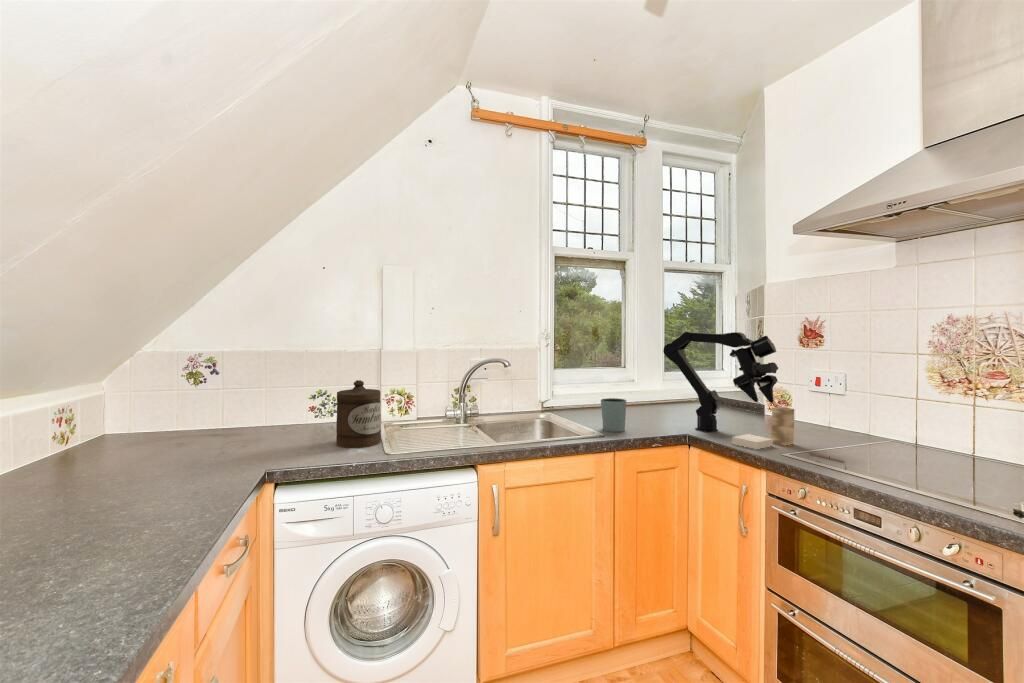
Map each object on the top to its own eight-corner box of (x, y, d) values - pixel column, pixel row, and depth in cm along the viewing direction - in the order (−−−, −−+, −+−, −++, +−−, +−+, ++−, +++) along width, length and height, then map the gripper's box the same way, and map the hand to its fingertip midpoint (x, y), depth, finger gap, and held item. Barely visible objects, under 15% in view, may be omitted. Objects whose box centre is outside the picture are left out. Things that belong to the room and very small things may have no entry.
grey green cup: (624, 433, 184) (625, 402, 184) (598, 431, 188) (598, 400, 187) (627, 428, 194) (627, 398, 194) (602, 426, 197) (602, 397, 197)
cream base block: (732, 445, 167) (732, 436, 167) (747, 442, 171) (748, 434, 171) (757, 451, 159) (757, 442, 159) (772, 447, 164) (772, 439, 164)
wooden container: (355, 450, 157) (355, 383, 156) (327, 444, 165) (327, 380, 164) (389, 441, 169) (389, 379, 169) (362, 436, 177) (361, 377, 177)
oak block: (771, 443, 169) (772, 408, 168) (779, 441, 171) (780, 406, 171) (785, 446, 164) (786, 410, 164) (793, 444, 167) (794, 408, 167)
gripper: (751, 351, 168) (769, 392, 161) (781, 355, 177) (799, 394, 171) (725, 364, 176) (741, 404, 170) (755, 367, 186) (771, 405, 179)
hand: (764, 402), depth 172 cm, fingers open, 9 cm apart
